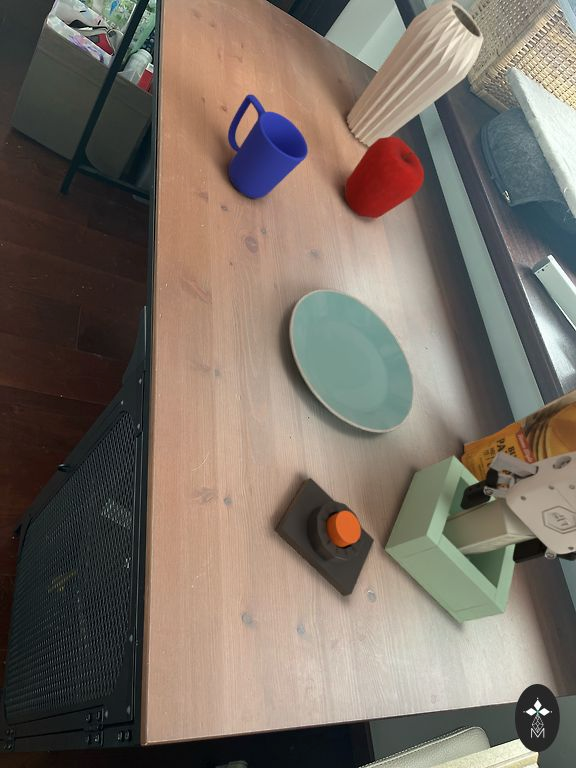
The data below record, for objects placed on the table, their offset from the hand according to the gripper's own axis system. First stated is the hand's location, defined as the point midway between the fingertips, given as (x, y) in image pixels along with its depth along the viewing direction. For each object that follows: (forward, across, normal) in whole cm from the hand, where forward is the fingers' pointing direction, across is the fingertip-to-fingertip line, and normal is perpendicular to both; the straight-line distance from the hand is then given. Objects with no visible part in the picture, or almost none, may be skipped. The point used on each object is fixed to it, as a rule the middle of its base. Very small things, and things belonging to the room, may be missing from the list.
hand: (489, 526), depth 75 cm
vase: (+9, -47, +67) cm, 82 cm away
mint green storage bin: (+9, 0, 0) cm, 9 cm away
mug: (+9, -54, +26) cm, 61 cm away
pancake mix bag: (+9, +5, +14) cm, 17 cm away
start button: (+6, -15, -12) cm, 20 cm away
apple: (+9, -38, +46) cm, 60 cm away
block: (+9, -15, -12) cm, 21 cm away
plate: (+9, -24, +12) cm, 28 cm away
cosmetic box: (+8, 0, 0) cm, 8 cm away
